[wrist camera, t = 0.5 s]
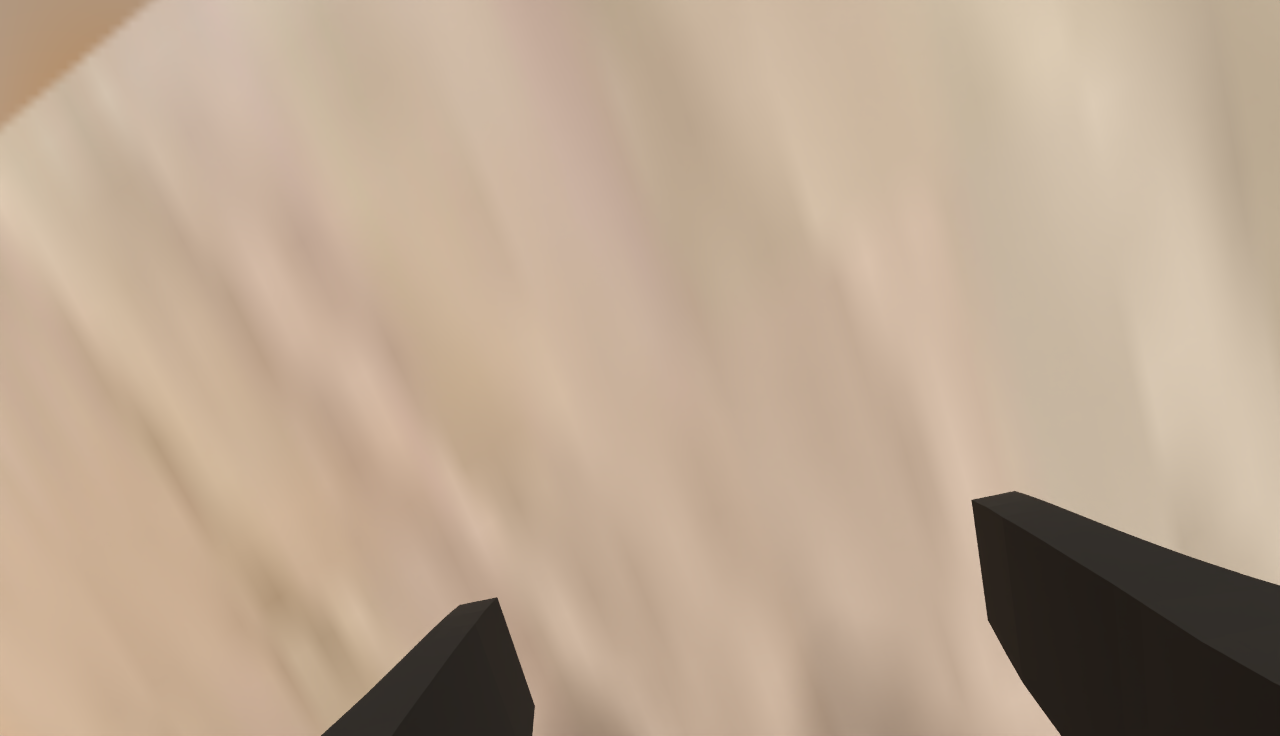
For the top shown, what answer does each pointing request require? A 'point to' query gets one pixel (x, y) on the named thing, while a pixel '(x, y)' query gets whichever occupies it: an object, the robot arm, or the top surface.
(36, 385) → the top surface
